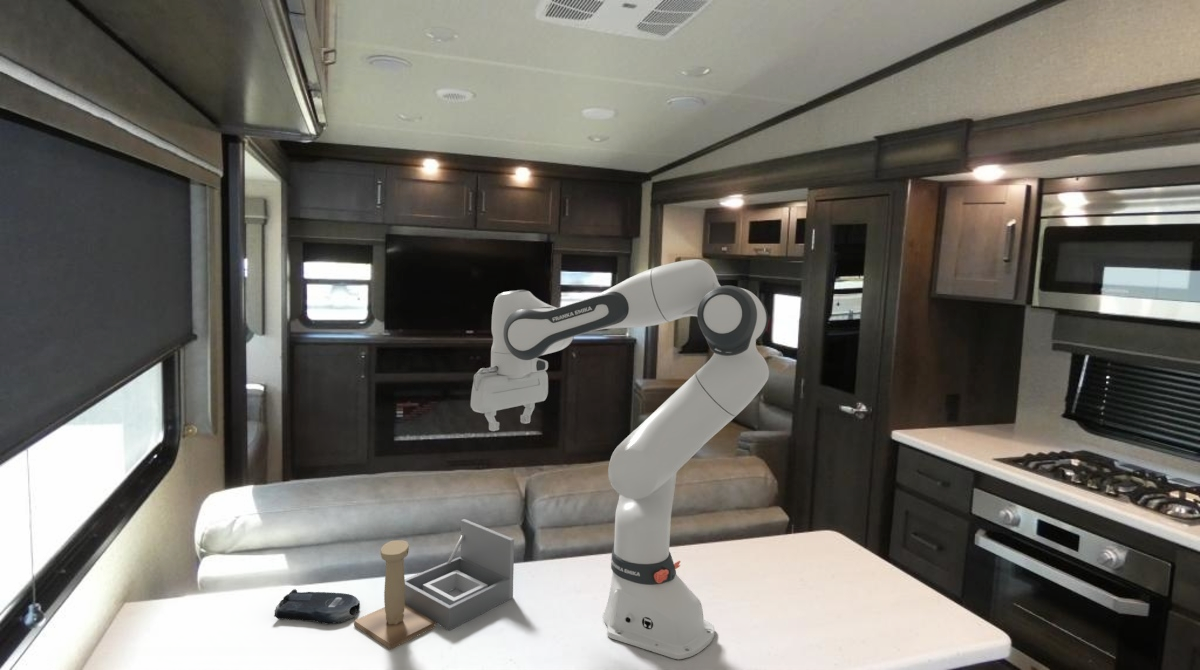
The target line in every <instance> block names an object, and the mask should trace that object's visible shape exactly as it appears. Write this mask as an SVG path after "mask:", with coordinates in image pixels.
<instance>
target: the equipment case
mask: <svg viewBox="0 0 1200 670" xmlns="http://www.w3.org/2000/svg"><path fill="white" fill-rule="evenodd" d="M459 548H460V556H457V557H455V556H456V553H457V552H458V550H459ZM514 553H515V539H514V538H513V537H510V536H508V535H505V534H503V533H500V532H497V531H495V530H493V529H490V528H488V527H486V526H483V525H481V524H478V523H476V522H473V521H472V520H468V519H466V518H463V519H461V520H460V538H459V539H458V541H457V543H456V545H455V547H454V549H453V551H452V553H451V555H450V556H449V559H448V561H446V562H444V563H441V564H439V565H436V566H434V567H432V568H430V569H429V568H428V569H426V570H425V571H422V572H419V573H417V574H415V575H412V576H410V577H407V578H405V605H406V606H408V607H410V608H412V609H413V610H415V611H417V612H419V613H420V614H422V615H424V616H425V617H427V618H429V619H431V620H432V621H434V622H435V624H436V625H439V626H440V625H441V626H440V627H443V628H444V629H446V630H448V631H451V630H453V629H455V628H456V627H459V626H461V625H462V624H465V623H466V622H469V621H470V620H473V619H475V618H477V617H478V616H481V614H483V613H486V612H488V611H489V610H492V609H494V608H495V606H496V607H497V606H499V605H501V604H504V603H505V602H507V601H509V600H510V599H513V598H514V567H515V566H514V562H515V554H514ZM454 557H455V558H454ZM453 590H459V591H461V592H463V593H461V594H459V595H457V596H452V595H450V594H448V593H449V592H451V591H453ZM493 607H494V608H493ZM491 608H492V609H491Z"/></svg>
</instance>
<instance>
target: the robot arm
mask: <svg viewBox="0 0 1200 670" xmlns="http://www.w3.org/2000/svg"><path fill="white" fill-rule="evenodd" d="M493 301H494V302H493V306H492V314H491V335H492V344H491V350H490V366H489V367H486V368H485V367H482V368H480V369H478V371H477V372H475V374H474V375H473V382H472V388H471V395H470V409H472V411H473V412H474V413H480V414H484V416H485V418H486V420H487V422H488V430H489V431H491V432H495V431H499V430H500V422H499V421H497V420H496V418H495V416H497V411H501V410H506V409H510V408H515V407H521V406H523V407H525V408H524V410H523V413H522V414H520V417H519V418H520V423H521V424H530V422H531V416H532V414H533V411H535V408H536V406H535V404H536V403H541V402H544V401H546V399H547V397H548V395H549V377H548V372H547V370H548V368H549V362H548V361H547V360H545V359H542V358H539V357H541V356H545V355H548V354H552V353H556V352H559V351H562V350H564V349H566V348H568V346H570V345H571V344H572V342H573V341H574V337H577V336H580V335H581V336H582V335H584V334H587V333H591V332H594V331H599V330H606V329H610V330H611V329H628V328H629V329H630V328H643V327H644V328H645V327H646V328H647V327H652V326H658V325H662V324H666V323H670V322H673V321H677V320H679V319H680V320H681V319H682V318H683V319H684V318H688V317H696V318H697V322H698V325H699V329H700V330H701V332H702V335H703V336H704V338H705V340H706V343H707V345H708V347H709V349H710V351H711V352H712V356H711V357H710V359H709V360H707V362H706V363H704V364H703V366H701V368H699V369H698V370H696V372H695V373H694V374H693V375H692V376H690V378H689V379H688V380H686V382H684V383H683V384H682V385H681V386H680V387H679V388H678V389H677V390H675V392H674V393H673V394H671V395H670V396H669V397H668V398H667V399H666V400H665V401H664V402H663V403H662V404H661V405H660V406H659V407H657V409H656V410H654V412H652V413H651V414H650V415H649V416H648V417H647V418H646V419H645V420H644V421H642V423H641V424H640V425H638V427H636V428H635V429H634V430H633V431H632V432H631V433H629V435H627V437H625V438H624V439H623V440H622V441H621V442H620V443H619V444H618V445H617V446H616V448H615V449H614V451H613V452H612V454H611V456H610V460H609V464H608V468H607V477H608V481H609V483H610V486H611V487H612V488H613V489H614V491H615V492H616V493H618V494H619V496H618V501H617V506H616V510H615V513H614V514H615V515H614V517H615V518H614V540H613V541H614V543H613V548H612V550H611V559H610V561H611V562H610V569H611V570H612V575H611V584H610V590H609V595H608V599H607V602H606V606H605V609H604V612H603V617H602V618H603V621H604V624H605V625H606V627H607V633H606V635H607V637H609V638H610V639H613V640H616V641H618V642H621V643H625V644H627V645H631V646H634V647H636V648H641V649H643V650H645V651H646V650H647V651H648V652H653V653H655V654H659V655H662V656H664V657H668V658H671V659H675V660H682V659H684V660H685V659H687V658H690V657H692V656H693V657H694V656H695V655H696V654H698V653H700V652H702V651H703V650H704V649H705V648H707V646H709V645H710V644H711V642H712V641H713V640H714V637H715V626H714V624H713V623H711V622H709V621H707V620H706V619H704V611H703V606H702V602H701V600H700V599H699V598H698V596H696V594H695V593H694V592H693V591H692V590H691V589H690V588H689V587H688V585H687V584H686V583H685V582H684V581H683V580H682V578H681V577H680V576H678V573H677V569H678V568H681V564H680V563H681V560H678V561H676V562H675V563H674V559H673V556H672V553H671V552H670V539H671V536H670V535H671V519H672V510H673V503H674V497H675V496H674V495H675V489H676V488H675V487H676V482H677V481H676V480H677V473H678V471H679V470H680V469H681V468H682V467H683V466H685V464H687V462H689V460H690V459H691V458H692V457H693V456H694V455H695V454H697V453H698V452H699V451H700V449H701V448H702V447H703V446H705V445H706V443H708V442H709V441H710V440H711V439H712V438H714V436H716V435H717V433H719V432H720V431H721V430H722V429H724V427H725V426H726V425H728V424H729V423H730V422H731V421H733V419H735V417H737V416H738V415H739V414H740V413H741V412H742V411H743V410H744V409H745V408H746V407H747V406H748V405H749V404H750V403H752V401H753V400H754V399H755V397H757V395H758V393H760V391H761V390H762V389H763V388H764V386H765V384H766V383H767V381H768V380H769V378H770V377H769V376H770V369H769V365H768V363H767V361H766V359H765V358H764V356H763V354H761V353H760V352H759V351H758V348H757V343H756V342H757V341H759V340H760V339H761V338H762V337H763V336H764V334H765V332H766V331H767V328H768V325H769V313H768V310H767V307H766V305H765V304H764V302H763V300H761V299H760V298H759V297H758V296H756V295H755V294H754V293H753V292H752V291H750V290H748V289H745V288H742V287H739V286H736V285H735V286H734V285H721V284H720V283H719V280H718V277H717V275H716V272H715V270H714V269H713V268H712V266H711V265H710V264H709V263H708V262H706V261H704V260H702V259H699V258H698V259H695V258H694V259H686V260H681V261H675V262H670V263H666V264H662V265H658V266H656V267H652V268H649V269H647V270H644V271H642V272H639V273H637V274H635V275H633V276H631V277H628V278H626V279H625V280H623V281H621V282H619V283H617V284H616V285H615V284H614V286H612V287H609V288H607V289H605V290H603V291H601V292H600V293H597V294H595V295H593V296H591V297H589V298H586V299H585V298H584V299H582V300H579V301H575V302H572V303H569V304H566V305H562V306H559V307H556V306H554V305H550V304H549V303H546V302H544V301H542V300H541V299H539V298H538V297H536V296H535V295H534V294H533V293H532V292H531V291H529V290H526V289H517V290H509V291H503V292H501V293H498V294H497V296H496V297H495V298H494V300H493Z"/></svg>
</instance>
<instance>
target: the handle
mask: <svg viewBox="0 0 1200 670" xmlns="http://www.w3.org/2000/svg"><path fill="white" fill-rule="evenodd" d="M409 547H410V546H409V542H408V541H407V540H401V539H400V540H399V539H398V540H397V539H396V540H395V539H394V540H390V541H388V542H386V543H385V544H383V545H382V547H381V548H380V557H381V560H383V561H385V573H384V575H385V577H384V592H383V593H384V594H383V597H384V599H383V600H384V601H383V603H384V607H385V613H386V621H387V622H388V624H389V625H392V624H394V625H397V624H398V623H400V622H402V621H403V618H404V614H403V613H404V608H405V579H406V578H405V564H404V560H405V559H404V558H406V557H407V556H408V554H409V552H410V551H409V550H410V549H409Z"/></svg>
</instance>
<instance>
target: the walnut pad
mask: <svg viewBox="0 0 1200 670" xmlns="http://www.w3.org/2000/svg"><path fill="white" fill-rule="evenodd" d="M403 614H404V618H403V621H402V622H400V623H398V624H397V625H394V624H392V625H389V624H388V622H387V621H386V613H385V606H384V607H382V608H380V609H377V610H375V611H373V612H369V613H368V614H366V615H363V616H362V617H359V618H356V619H355V620H354V621H353V623H354V624H353V625H354V626H355V627H356V628H357V629H359V630H361V632H364V633H365V634H366V635H368V636H370V637H371V638H373V639H374V640H375V641H377V642H378V643H380V644H382V645H383V646H385V647H386V648H388V649H389V650H392V649H394V648H395V647H398V646H400V645H402V644H404V643H406V642H408V641H410V640H413V639H414V638H416V637H418V636H420V635H423V634H424V633H426V632H428V631H430V630H432V629H435V628H436V623H435V622H434V621H432V620H431V619H429V618H427V617H425V616H424V615H422V614H420V613H419V612H417V611H415V610H413V609H412V608H410V607H408V606H406V605H405V608H404V613H403ZM425 631H426V632H425ZM423 632H424V633H423ZM419 634H420V635H419ZM417 635H418V636H417ZM399 644H400V645H399Z"/></svg>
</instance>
